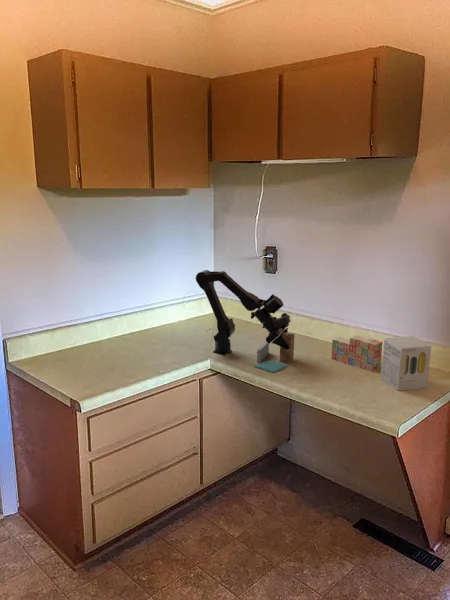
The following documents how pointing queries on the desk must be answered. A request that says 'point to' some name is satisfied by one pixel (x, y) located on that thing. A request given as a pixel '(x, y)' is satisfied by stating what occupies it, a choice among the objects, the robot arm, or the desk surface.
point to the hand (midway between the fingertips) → (290, 346)
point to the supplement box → (405, 363)
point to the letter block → (288, 354)
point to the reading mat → (271, 366)
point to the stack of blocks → (358, 352)
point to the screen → (262, 352)
